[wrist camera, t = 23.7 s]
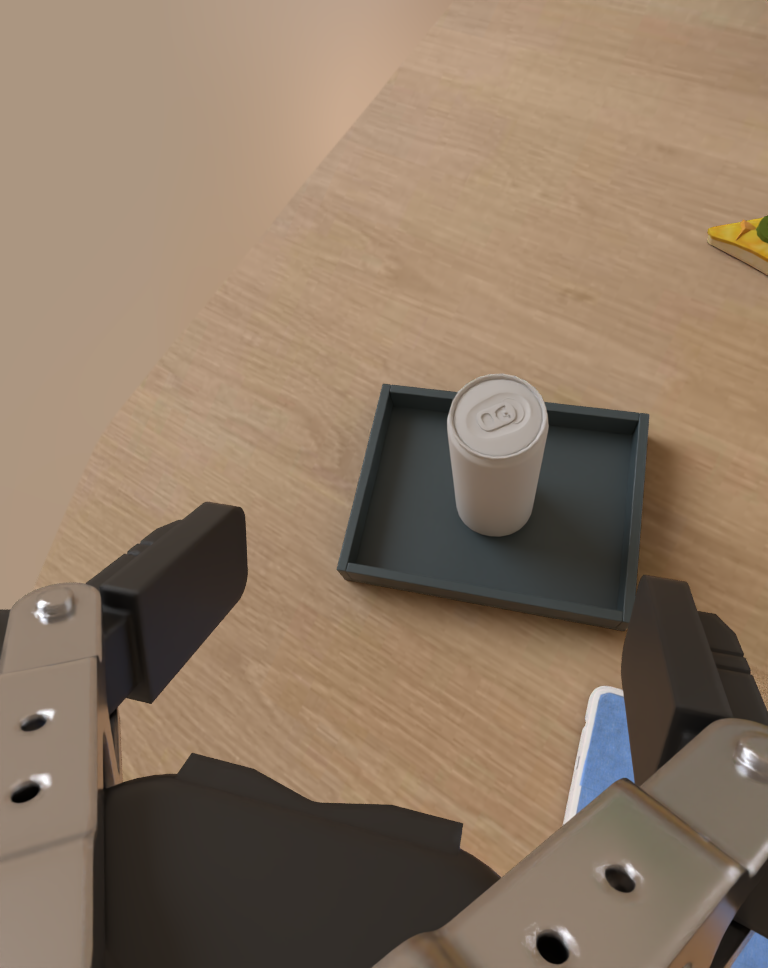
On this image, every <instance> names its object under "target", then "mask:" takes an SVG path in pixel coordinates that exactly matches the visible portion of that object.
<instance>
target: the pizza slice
mask: <svg viewBox="0 0 768 968" xmlns="http://www.w3.org/2000/svg"><path fill="white" fill-rule="evenodd" d="M708 234H709V235H708V240H707V243H709V244H710V245H713V246H715V247H717V248H718V249H720V250H722V251H724V252H726V253H728V254H730V255H732V256H734V257H736V258H737V259H739V260H741V261H743V262H745V263H747V264H749V265H750V266H752V267H754V268H756V269H757V270H759V271H761V272H763V273H764V274H766V275H768V216H765V217H763V218H759V219H753V220H748V221H745V220H743V221H742V222H738V223H733V224H727V225H721V226H716V227H712V228H709V229H708Z"/></svg>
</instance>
